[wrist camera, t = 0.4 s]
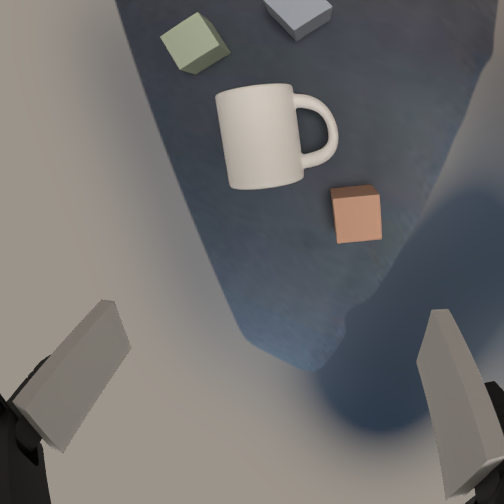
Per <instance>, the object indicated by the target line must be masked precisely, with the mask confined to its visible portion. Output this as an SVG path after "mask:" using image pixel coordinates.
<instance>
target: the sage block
mask: <svg viewBox="0 0 504 504" xmlns="http://www.w3.org/2000/svg"><path fill="white" fill-rule="evenodd" d="M160 38H161V39H162V41H163V43H164V44H165V46H166V48H167V49H168V51H169V53H170V54H171V56H172V58H173V59H174V61H175V63H176V64H177V66H178V68H179V69H180V70H182V71H186V72H189V73H192V74H197V73H199V72H200V71H202V70H204V69H205V68H207V67H209V66H210V65H212V64H214V63H215V62H217V61H219V60H220V59H222V58H224V57H225V56H227V55H229V54H231V52H230V51H229V49H228V48H227V46H226V44H225V43H224V41H223V40H222V38H221V37H220V35H219V34H218V32H217V30H216V29H215V27H214V26H213V24H212V23H211V22H210V21H208V20H207V19H206V18H205V17H204V16H202V15H201V14H200V13H199V12H197V13H195V14H194V15H192V16H191V17H189V18H187V19H186V20H184V21H183V22H181V23H180V24H178V25H177V26H175V27H174V28H172V29H171V30H169V31H168V32H166V33H165V34H164V35H162V36H161V37H160Z"/></svg>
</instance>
